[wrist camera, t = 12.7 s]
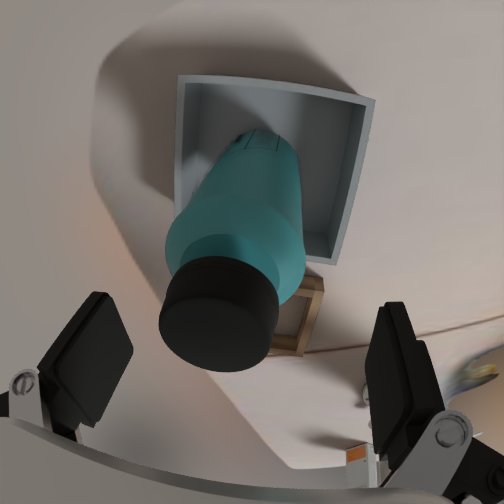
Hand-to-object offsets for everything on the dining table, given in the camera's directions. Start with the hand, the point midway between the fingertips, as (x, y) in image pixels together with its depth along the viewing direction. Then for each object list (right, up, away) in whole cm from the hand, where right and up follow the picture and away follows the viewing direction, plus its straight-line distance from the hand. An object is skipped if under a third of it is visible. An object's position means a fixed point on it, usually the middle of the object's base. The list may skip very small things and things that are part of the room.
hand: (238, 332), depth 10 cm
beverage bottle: (+1, +11, +16) cm, 19 cm away
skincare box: (+26, -43, +48) cm, 70 cm away
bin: (+2, +11, +17) cm, 21 cm away
